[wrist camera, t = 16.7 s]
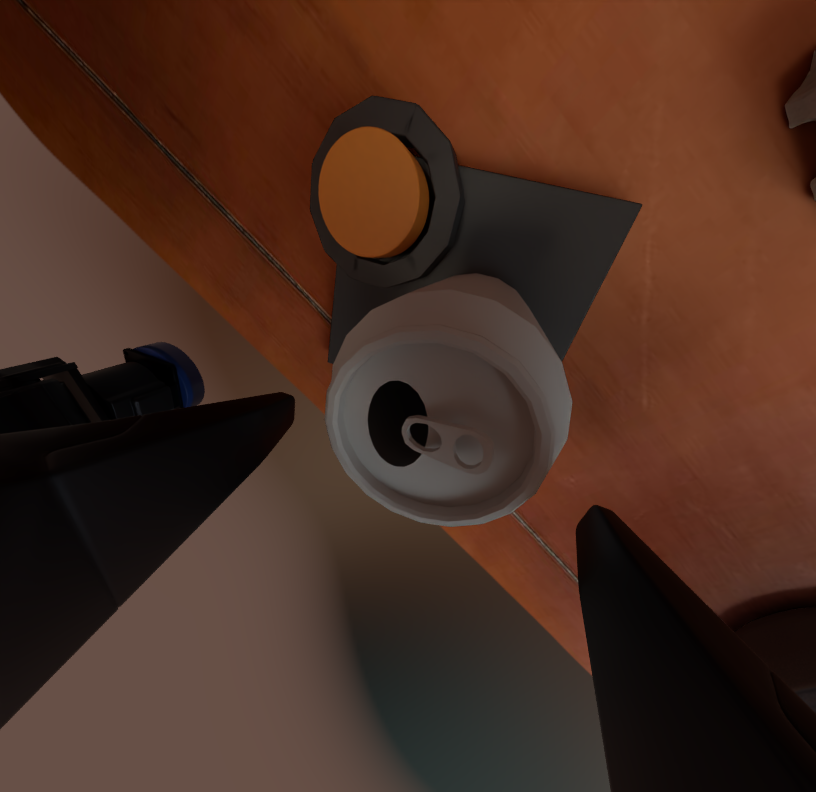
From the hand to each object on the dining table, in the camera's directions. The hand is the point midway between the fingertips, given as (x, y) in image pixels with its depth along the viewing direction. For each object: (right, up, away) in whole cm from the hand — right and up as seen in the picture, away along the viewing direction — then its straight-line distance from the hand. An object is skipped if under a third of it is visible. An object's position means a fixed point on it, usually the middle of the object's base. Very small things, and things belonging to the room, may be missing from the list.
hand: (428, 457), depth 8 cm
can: (+3, +5, +10) cm, 12 cm away
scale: (+2, +8, +10) cm, 13 cm away
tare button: (-2, +12, +7) cm, 14 cm away
